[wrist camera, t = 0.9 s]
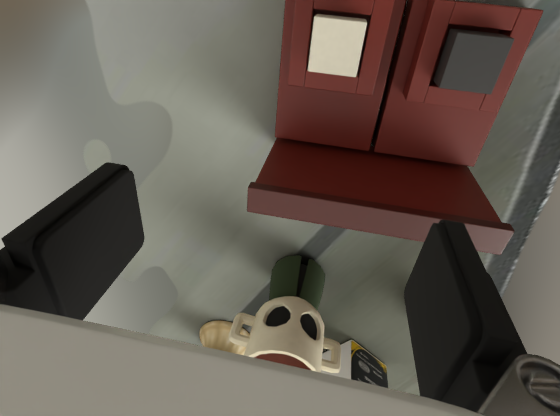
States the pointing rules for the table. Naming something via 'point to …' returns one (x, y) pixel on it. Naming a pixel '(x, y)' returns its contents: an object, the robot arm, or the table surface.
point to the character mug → (290, 320)
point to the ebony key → (472, 60)
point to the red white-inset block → (334, 88)
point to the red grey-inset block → (437, 101)
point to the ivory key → (336, 45)
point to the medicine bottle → (359, 365)
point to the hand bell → (220, 337)
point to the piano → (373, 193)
